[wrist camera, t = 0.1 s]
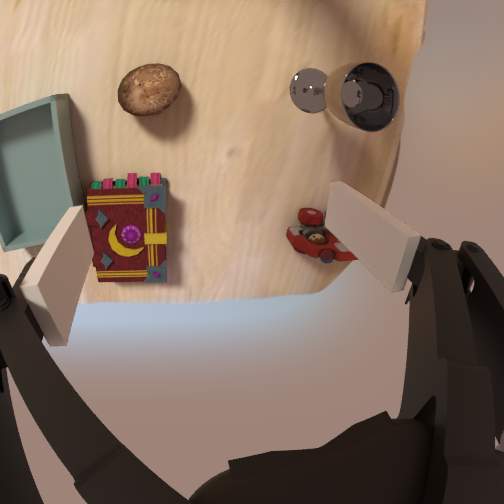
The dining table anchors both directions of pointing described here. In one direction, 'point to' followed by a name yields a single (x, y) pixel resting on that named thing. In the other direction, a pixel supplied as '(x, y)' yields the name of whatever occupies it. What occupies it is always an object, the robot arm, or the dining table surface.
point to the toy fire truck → (317, 238)
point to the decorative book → (128, 228)
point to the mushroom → (149, 89)
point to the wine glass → (349, 94)
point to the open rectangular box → (36, 171)
